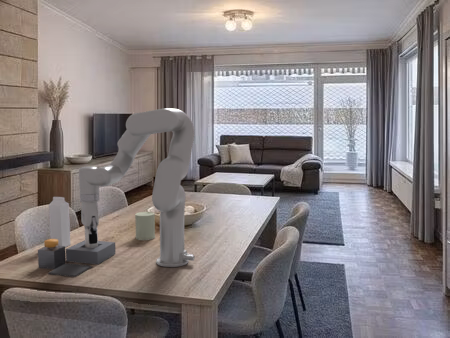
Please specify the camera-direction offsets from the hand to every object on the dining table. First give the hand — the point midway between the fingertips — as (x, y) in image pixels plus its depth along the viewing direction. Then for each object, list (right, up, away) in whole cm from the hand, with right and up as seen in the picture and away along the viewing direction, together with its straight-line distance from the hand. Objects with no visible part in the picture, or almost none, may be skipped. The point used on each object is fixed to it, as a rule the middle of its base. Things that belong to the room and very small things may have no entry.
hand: (91, 241), depth 185 cm
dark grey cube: (-12, -8, -9) cm, 17 cm away
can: (+16, -3, +31) cm, 36 cm away
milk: (-19, -5, +17) cm, 26 cm away
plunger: (-12, -6, -9) cm, 17 cm away
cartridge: (0, -6, +1) cm, 6 cm away
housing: (0, -7, +1) cm, 7 cm away
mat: (-3, -9, -15) cm, 17 cm away
